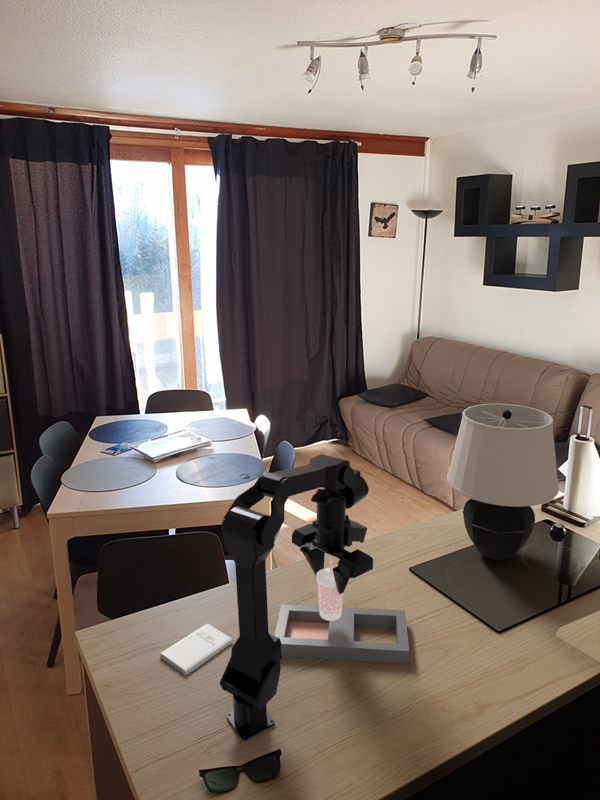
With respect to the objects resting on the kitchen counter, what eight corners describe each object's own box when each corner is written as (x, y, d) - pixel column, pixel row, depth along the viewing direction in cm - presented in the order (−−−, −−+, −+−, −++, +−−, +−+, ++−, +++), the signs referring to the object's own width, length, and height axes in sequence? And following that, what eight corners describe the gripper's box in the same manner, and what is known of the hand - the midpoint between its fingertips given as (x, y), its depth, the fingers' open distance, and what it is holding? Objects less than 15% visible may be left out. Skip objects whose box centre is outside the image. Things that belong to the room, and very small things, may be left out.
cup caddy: (404, 622, 130) (404, 610, 129) (408, 663, 117) (409, 651, 116) (281, 615, 132) (281, 604, 132) (273, 655, 120) (272, 643, 119)
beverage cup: (350, 617, 122) (352, 556, 118) (325, 626, 119) (326, 564, 115) (335, 602, 127) (335, 543, 123) (310, 610, 124) (310, 550, 121)
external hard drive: (160, 659, 120) (207, 628, 129) (186, 677, 115) (232, 644, 124) (159, 652, 120) (206, 622, 129) (185, 670, 115) (232, 638, 124)
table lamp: (496, 522, 173) (507, 390, 162) (574, 566, 150) (593, 416, 139) (421, 544, 162) (428, 404, 151) (493, 596, 138) (507, 434, 127)
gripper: (393, 521, 115) (391, 591, 119) (329, 491, 129) (329, 555, 133) (352, 539, 108) (351, 613, 113) (289, 505, 122) (290, 572, 126)
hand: (330, 586), depth 121 cm, fingers closed on beverage cup, 6 cm apart
